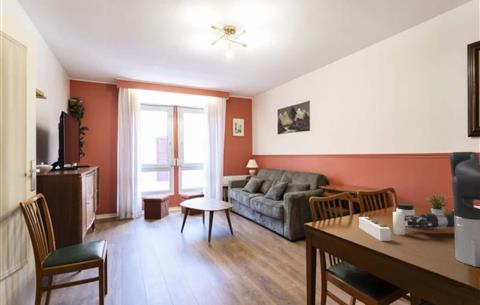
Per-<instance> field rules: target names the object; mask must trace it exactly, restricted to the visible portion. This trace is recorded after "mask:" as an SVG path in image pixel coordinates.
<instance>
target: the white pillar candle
mask: <svg viewBox="0 0 480 305" xmlns="http://www.w3.org/2000/svg"><path fill="white" fill-rule="evenodd" d="M392 230H393V231H392V232H393V235H396V236H405V235H406V226H405V213H403V212H396V211H392Z"/></svg>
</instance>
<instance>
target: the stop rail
mask: <svg viewBox="0 0 480 305" xmlns="http://www.w3.org/2000/svg"><path fill="white" fill-rule="evenodd" d="M369 220H370V217H368V216H359V217H358V228H359V229H361V230H362V231H364V232H366V233H367V234H368V235H370V236H371V237H374V238H375V239H377V240H378V241H380V242H390V241H392V239H391V236H392V235H391V228H390V227H388V226H387V227H380V226H378V225H376V224H374V223H373V222H371V221H369Z"/></svg>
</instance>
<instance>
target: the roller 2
mask: <svg viewBox="0 0 480 305" xmlns="http://www.w3.org/2000/svg"><path fill="white" fill-rule="evenodd" d="M376 225H378V226H380V227H388V226H387V224H386V223H378V224H376Z"/></svg>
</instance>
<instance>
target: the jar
mask: <svg viewBox="0 0 480 305" xmlns="http://www.w3.org/2000/svg"><path fill="white" fill-rule="evenodd" d="M395 212H403V213H405V215H414V216H416V215H415V209H414V204H412V203H409V202H408V203H407V202H398V203H396V209H395ZM406 219H407V218H406ZM411 221H412V220H411ZM407 222H408V221H405V227H411V228H412V227H413V226H409V225H408V224H407Z"/></svg>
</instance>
